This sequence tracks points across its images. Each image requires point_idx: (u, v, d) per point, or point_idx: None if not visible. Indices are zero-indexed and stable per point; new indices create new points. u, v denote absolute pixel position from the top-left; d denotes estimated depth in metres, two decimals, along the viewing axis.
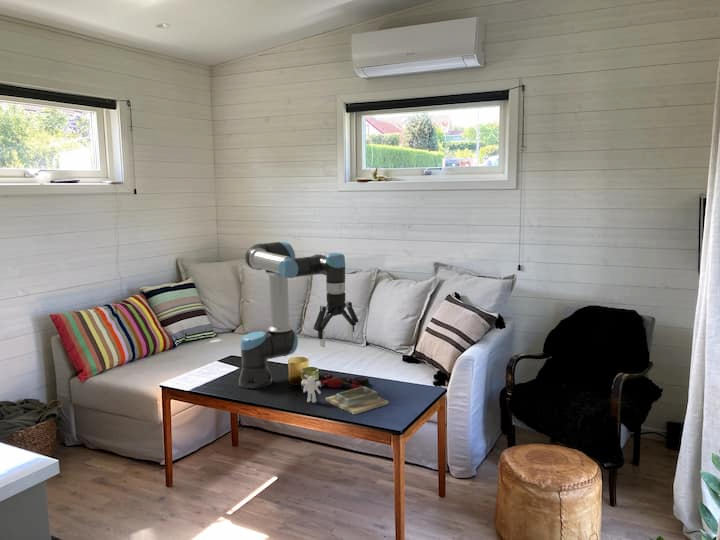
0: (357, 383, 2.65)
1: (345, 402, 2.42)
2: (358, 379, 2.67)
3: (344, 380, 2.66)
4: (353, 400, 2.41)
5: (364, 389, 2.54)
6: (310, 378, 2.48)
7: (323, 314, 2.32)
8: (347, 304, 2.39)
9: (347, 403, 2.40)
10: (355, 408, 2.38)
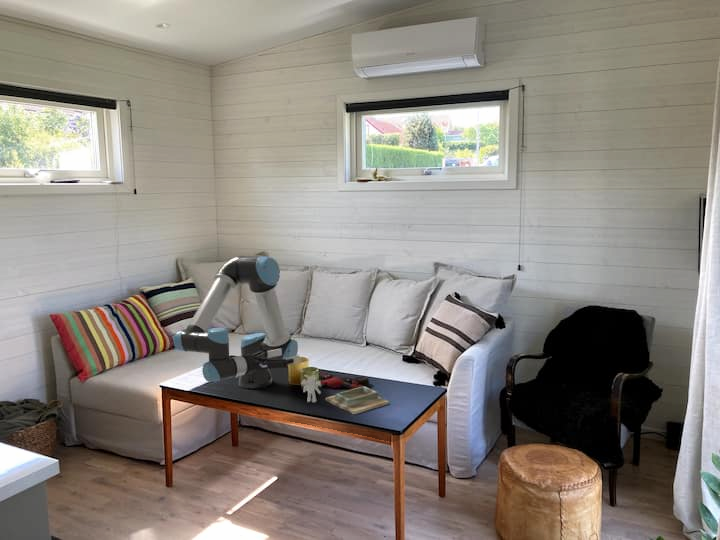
0: (357, 383, 2.65)
1: (345, 402, 2.42)
2: (358, 379, 2.66)
3: (344, 380, 2.66)
4: (353, 400, 2.41)
5: (364, 389, 2.54)
6: (310, 378, 2.48)
7: None
8: None
9: (347, 403, 2.40)
10: (355, 408, 2.38)
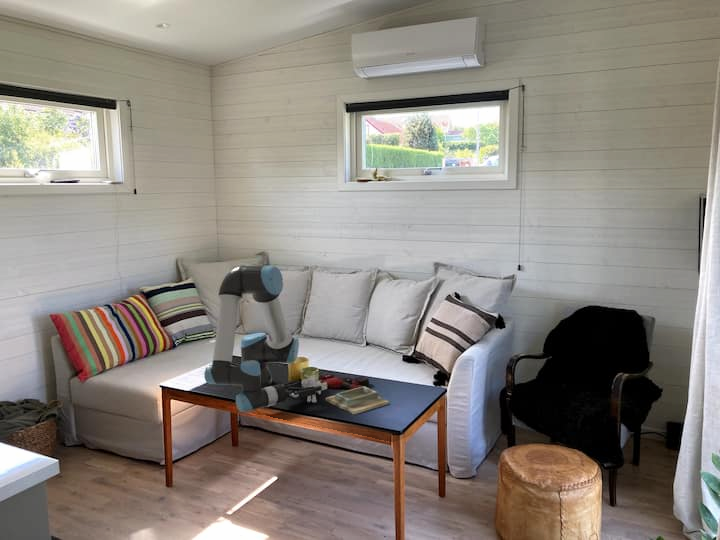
0: (357, 383, 2.64)
1: (345, 402, 2.42)
2: (358, 379, 2.66)
3: (344, 380, 2.66)
4: (353, 400, 2.41)
5: (364, 389, 2.54)
6: (310, 378, 2.48)
7: None
8: None
9: (347, 403, 2.40)
10: (355, 408, 2.38)
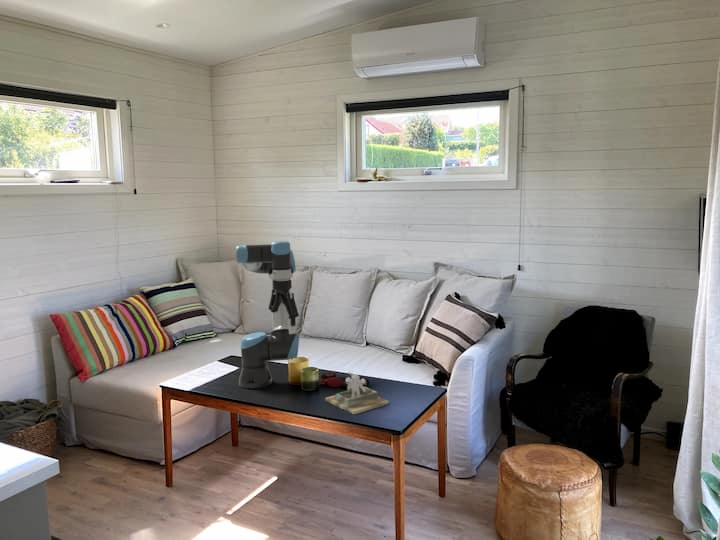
0: None
1: (345, 402, 2.42)
2: None
3: (344, 380, 2.66)
4: (353, 400, 2.41)
5: None
6: (355, 376, 2.46)
7: (272, 296, 2.46)
8: None
9: (347, 403, 2.40)
10: (355, 408, 2.38)
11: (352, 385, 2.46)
